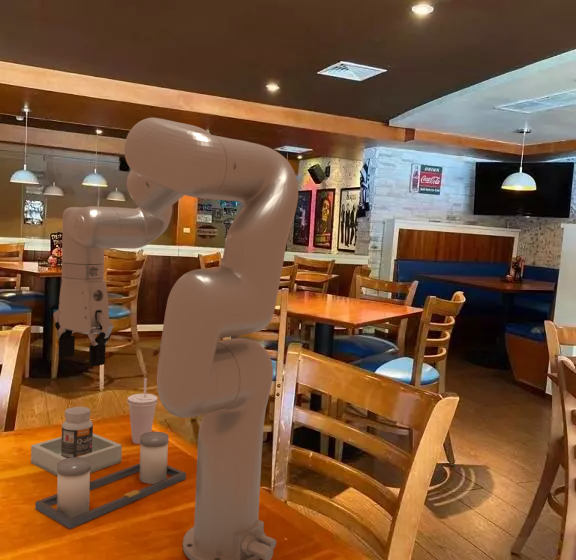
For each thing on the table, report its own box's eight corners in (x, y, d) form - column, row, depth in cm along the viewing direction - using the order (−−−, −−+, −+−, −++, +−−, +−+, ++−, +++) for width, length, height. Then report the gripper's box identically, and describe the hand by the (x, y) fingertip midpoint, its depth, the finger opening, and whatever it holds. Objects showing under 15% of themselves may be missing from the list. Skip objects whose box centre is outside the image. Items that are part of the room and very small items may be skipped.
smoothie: (146, 448, 125) (148, 383, 123) (119, 443, 127) (121, 379, 125) (161, 438, 131) (163, 376, 129) (136, 433, 133) (138, 372, 131)
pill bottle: (81, 467, 112) (83, 416, 111) (54, 462, 114) (55, 412, 113) (97, 456, 118) (98, 407, 117) (71, 452, 119) (72, 404, 118)
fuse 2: (172, 477, 111) (174, 436, 111) (151, 486, 107) (153, 443, 107) (154, 469, 114) (155, 429, 114) (132, 478, 110) (134, 436, 110)
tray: (121, 462, 117) (121, 445, 117) (67, 481, 107) (67, 462, 107) (84, 446, 124) (85, 429, 124) (31, 462, 114) (31, 445, 114)
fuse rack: (186, 479, 111) (186, 472, 111) (70, 529, 91) (70, 520, 91) (151, 464, 117) (151, 457, 117) (35, 508, 97) (35, 500, 97)
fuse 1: (96, 509, 98) (97, 463, 97) (68, 521, 94) (69, 472, 93) (77, 499, 101) (78, 454, 100) (49, 510, 97) (50, 463, 96)
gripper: (128, 275, 110) (126, 365, 112) (73, 268, 120) (71, 351, 122) (94, 277, 104) (92, 372, 106) (39, 269, 114) (38, 356, 116)
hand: (81, 360), depth 114 cm, fingers open, 9 cm apart
